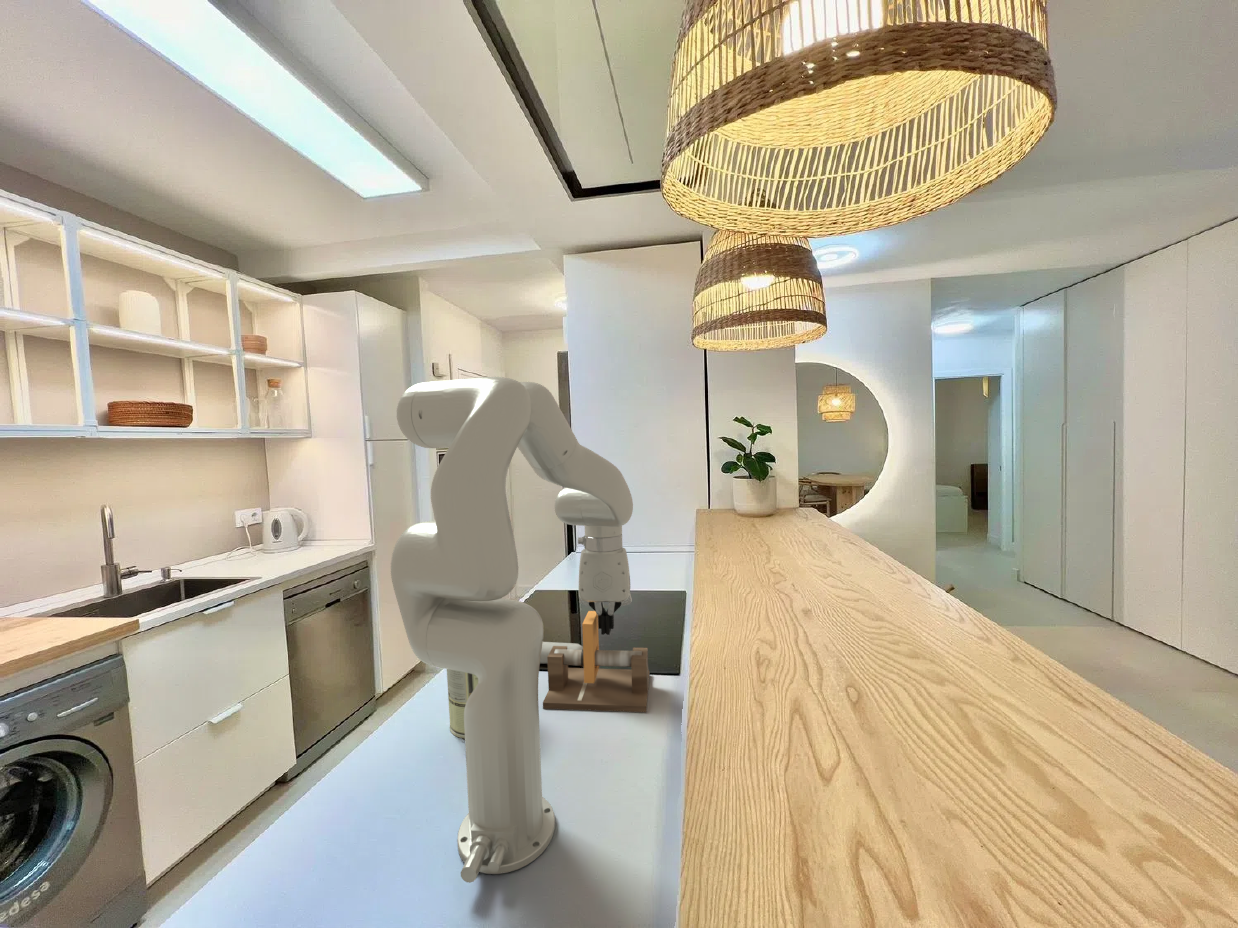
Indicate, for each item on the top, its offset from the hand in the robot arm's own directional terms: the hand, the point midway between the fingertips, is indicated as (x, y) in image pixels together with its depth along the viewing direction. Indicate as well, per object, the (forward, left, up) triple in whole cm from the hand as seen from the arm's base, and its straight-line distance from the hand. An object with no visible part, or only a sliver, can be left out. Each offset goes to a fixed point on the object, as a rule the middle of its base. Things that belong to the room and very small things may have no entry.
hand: (606, 631), depth 98 cm
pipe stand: (0, +2, -12) cm, 13 cm away
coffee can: (-12, +23, -13) cm, 29 cm away
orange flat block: (0, +3, -9) cm, 10 cm away
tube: (+12, +19, -13) cm, 26 cm away
